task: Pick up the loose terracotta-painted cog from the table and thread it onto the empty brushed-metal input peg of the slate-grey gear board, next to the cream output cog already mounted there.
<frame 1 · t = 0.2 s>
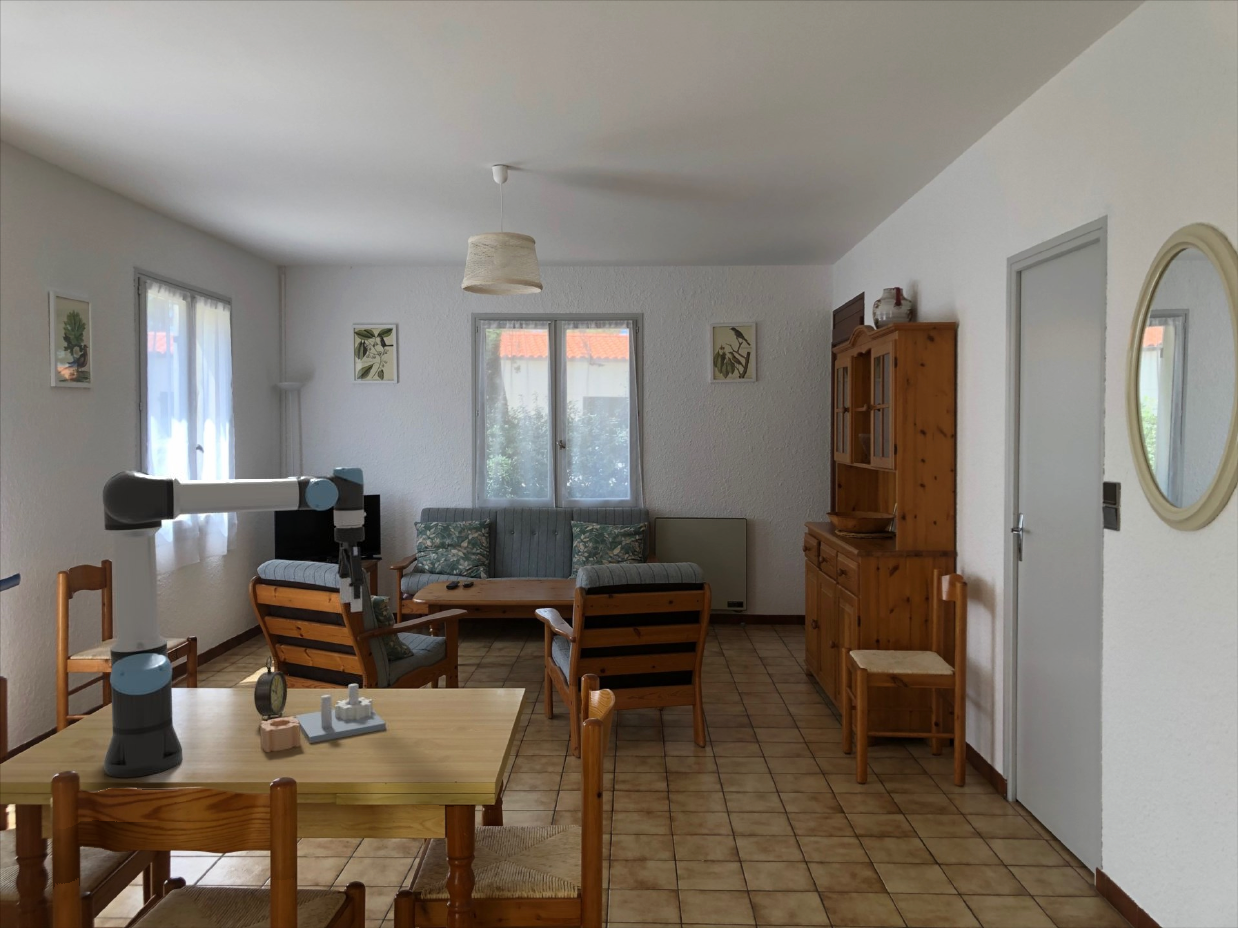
hand: (350, 606, 225), 28 cm above the table, fingers open, 13 cm apart
alarm clock: (270, 719, 220), on the table
gear board: (339, 725, 215), on the table
loose gear: (280, 744, 202), on the table
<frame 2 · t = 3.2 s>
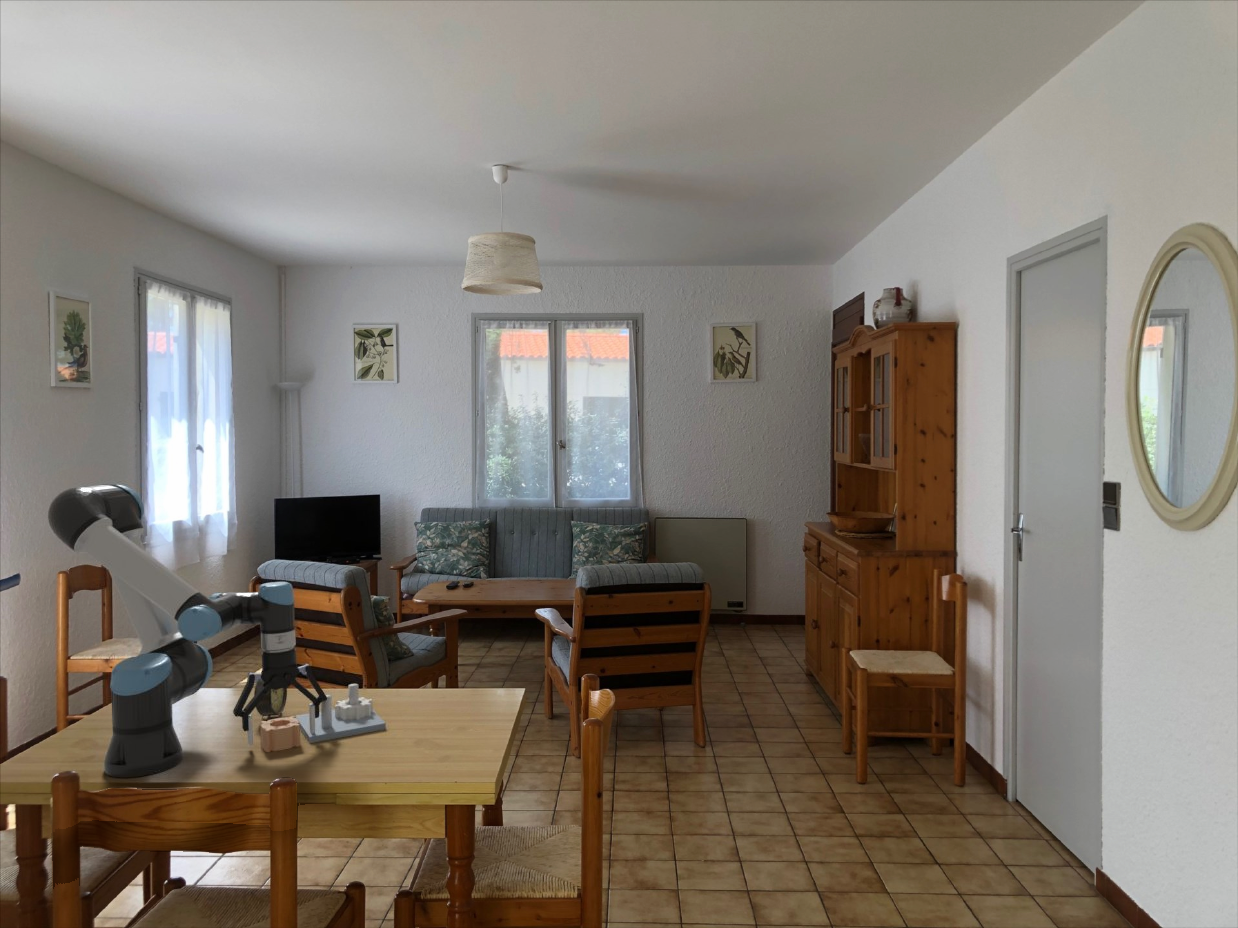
hand: (282, 738, 202), 1 cm above the table, fingers open, 13 cm apart
nothing on the table moved.
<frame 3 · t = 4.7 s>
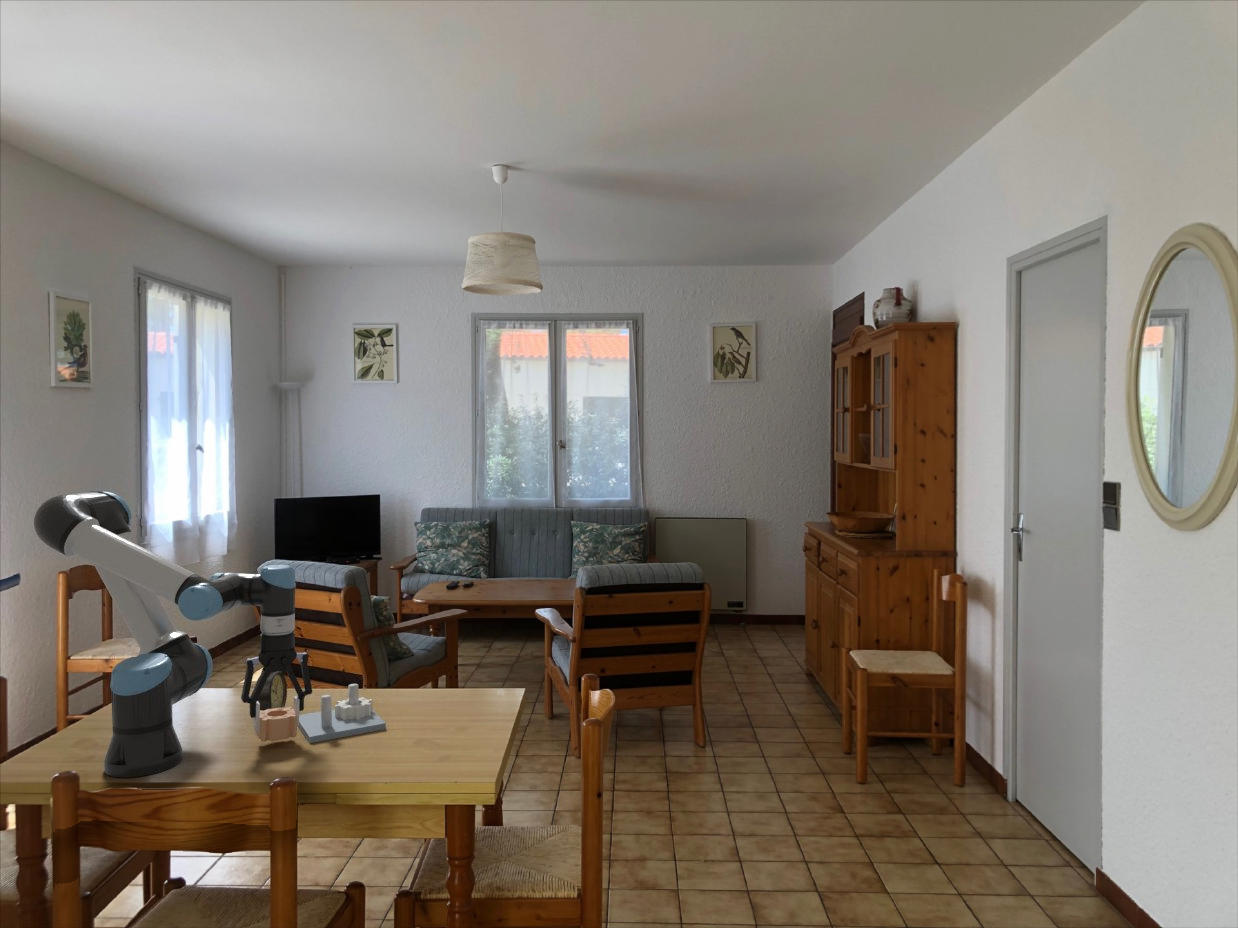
hand: (276, 727, 202), 4 cm above the table, fingers closed on loose gear, 8 cm apart
loose gear: (276, 734, 202), point 2 cm above the table, touching gripper
everything else where it was.
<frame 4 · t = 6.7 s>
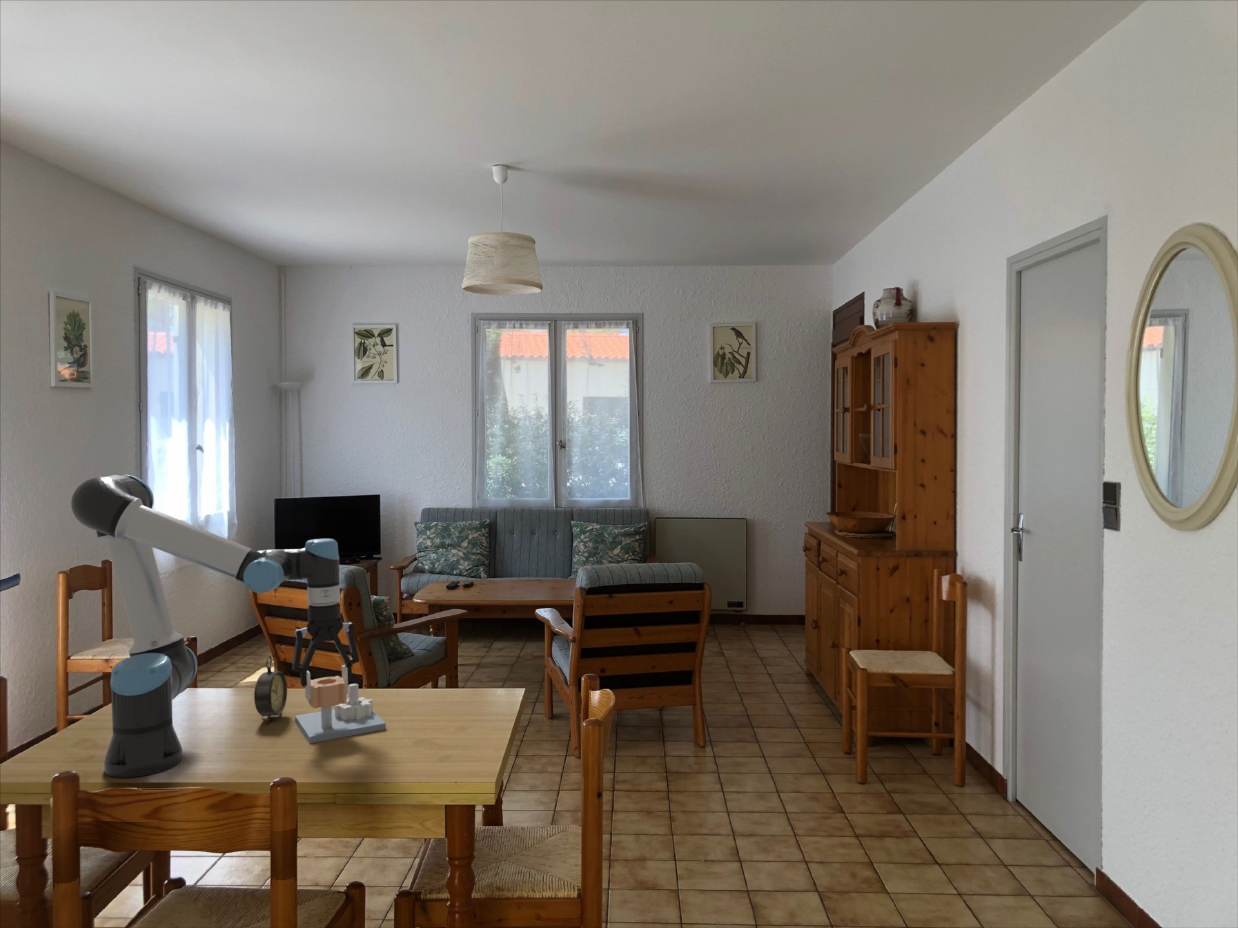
hand: (327, 695, 209), 9 cm above the table, fingers closed on loose gear, 8 cm apart
loose gear: (327, 701, 209), point 8 cm above the table, touching gripper
everything else where it was.
when the fingers open (2 cm above the table, at t = 8.6 s): loose gear stays where it is, resting on gear board.
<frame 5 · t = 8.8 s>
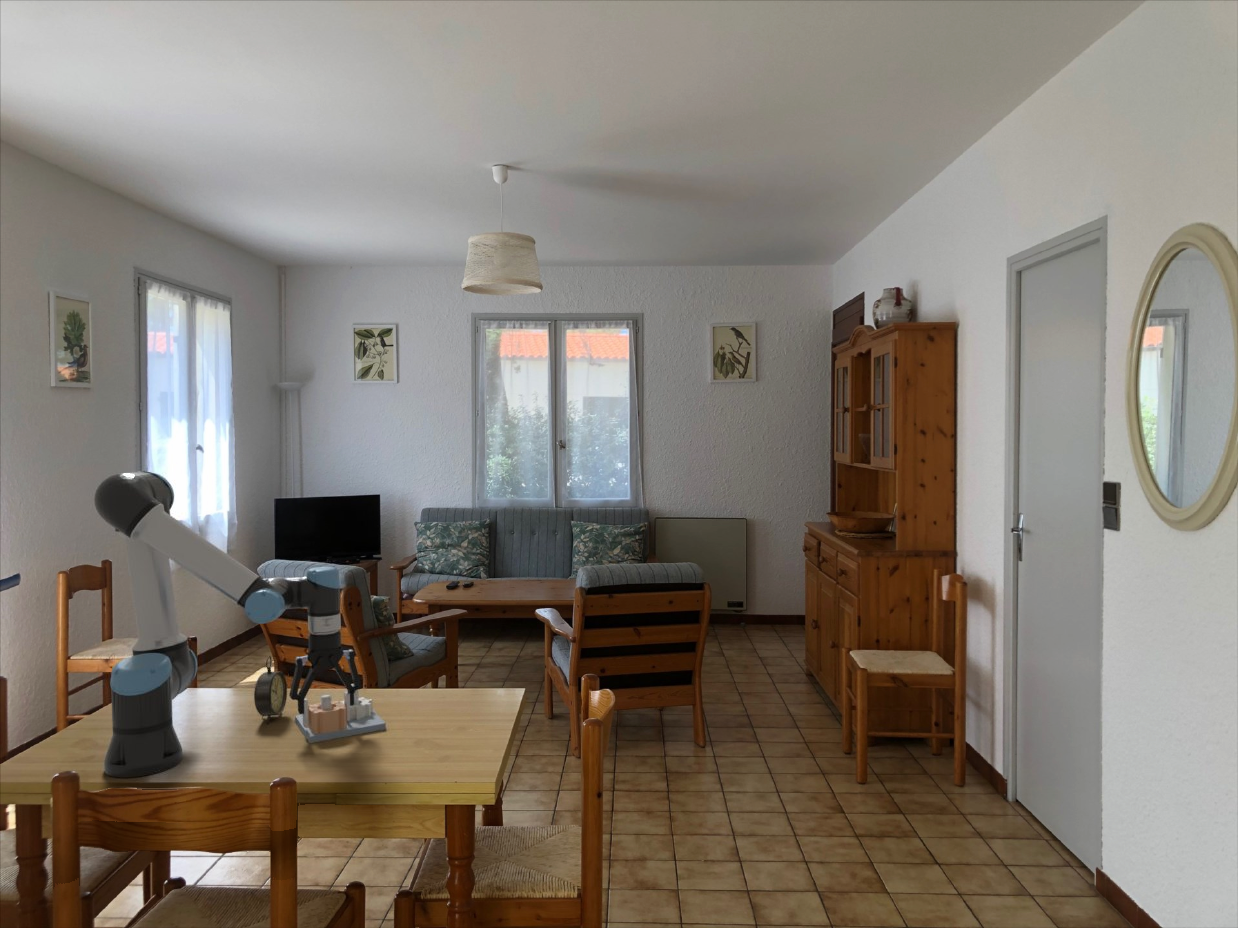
hand: (326, 722, 209), 3 cm above the table, fingers open, 9 cm apart
loose gear: (327, 726, 209), point 1 cm above the table, touching gear board
everything else where it was.
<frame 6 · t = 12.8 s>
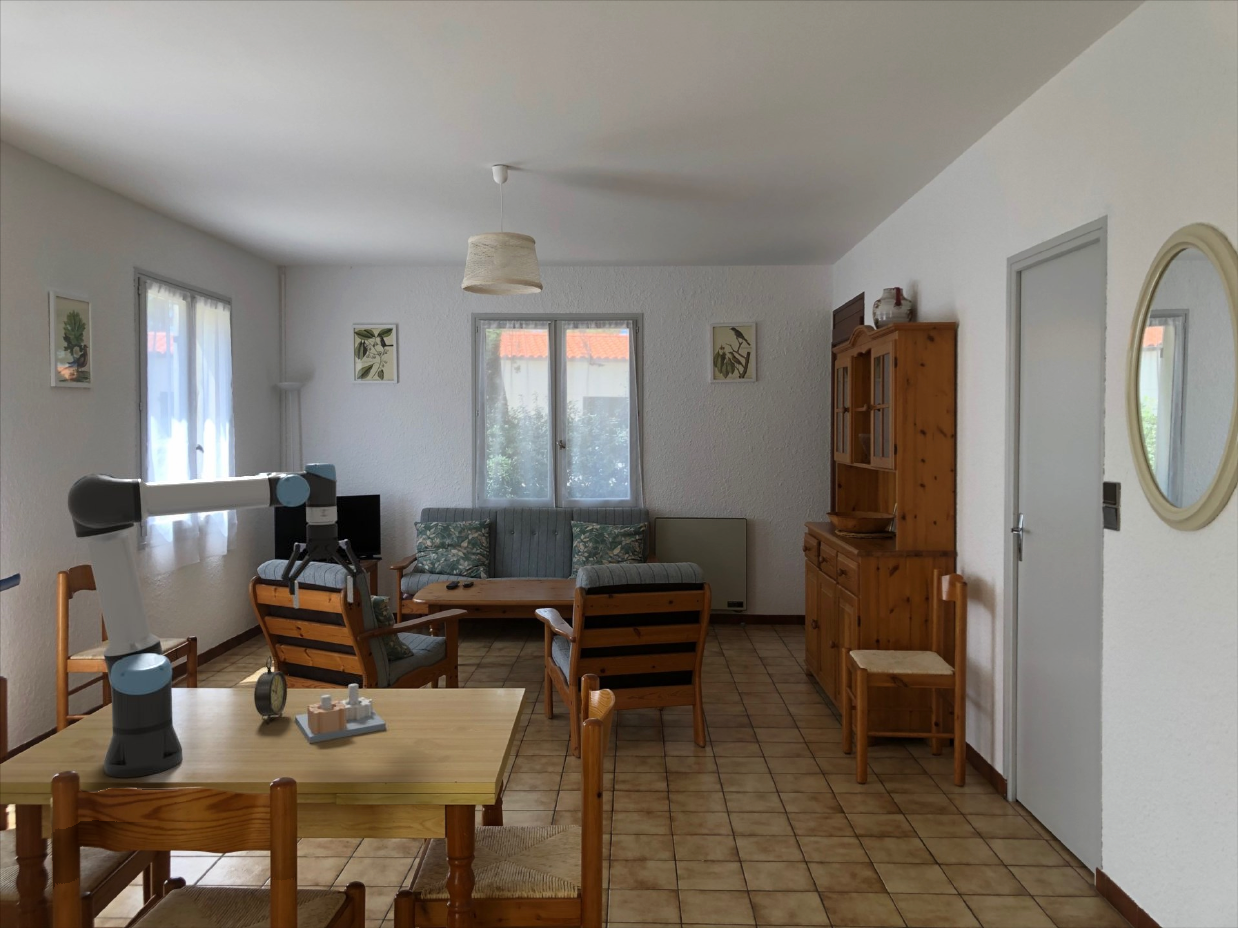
hand: (323, 604, 222), 29 cm above the table, fingers open, 13 cm apart
nothing on the table moved.
at the end: loose gear 0.1 cm from the target spot on the gear board, point 1.5 cm above the gear board's base; loose gear tilted 0°; the gripper is holding nothing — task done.
